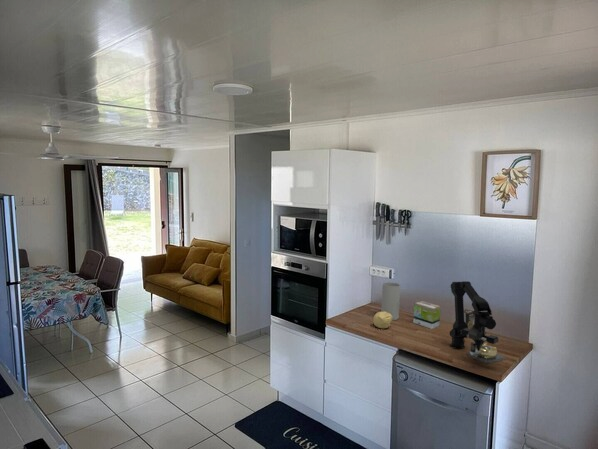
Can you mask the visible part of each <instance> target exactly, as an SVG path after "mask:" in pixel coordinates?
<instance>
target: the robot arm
mask: <svg viewBox="0 0 598 449" xmlns="http://www.w3.org/2000/svg"><path fill="white" fill-rule="evenodd" d="M450 288H451V289H450V290H451V291H450V292H451V293H452V295H453V296H454V312H455V318H454V319H455V321H454V322H453V324H452V328H451V330H450V331H449V336H450V337H451V343H450V344H449V346H451V347H453V348H455V349H457V350H459V349H464V348H466V346H465V339H467V338H469V339H471V340H473V341H474V342H473V343H475V344H476V347H477V350H478V351H479V350H480V348H481V347H482V345H484V343H487V344H488V343H489V344H492V345H495V344H496V343H499V337H498V336H497V335H493V334H490V335H487V331H486V329H488V330H493V329H495V327H496V325H497V323H496V320H495V319H494V316H492V315H493V314H492V313H493V312H492V309H491V306H490V304H489V302H488V301H487V300H486V299H485V298H484V297H481V296H480V295H479V294H478V293H477V290H476V289H475V288H474V286H472V283H471V281H466V280H465V281H464V280H463V281H452V283H451V284H450ZM465 294H466V295H467V296H468V298H469V299H470V301H471V308H472V309H473V310H472V311H473V313H475V316H474V325H473V327H472V329H468V324H466V323H465V321H464V310H465V308H464V306H465V304H464V297H465ZM467 335H468V336H469V337H467Z"/></svg>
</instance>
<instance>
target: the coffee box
mask: <svg viewBox="0 0 598 449" xmlns="http://www.w3.org/2000/svg"><path fill="white" fill-rule="evenodd" d="M473 311H474V310H471V309H467V308H464V321H465V323H466V324H468V329H472V327H473V325H474V316H475V313H473ZM467 338H469V336H468V335H467Z"/></svg>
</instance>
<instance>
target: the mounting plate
mask: <svg viewBox="0 0 598 449" xmlns="http://www.w3.org/2000/svg"><path fill="white" fill-rule="evenodd" d="M466 355H467V356H469V357H470V358H473V359H475V360H477V361H479V362H481V363H483V364H484V365H488V364H492V363H496V362H497V363H498V362H500V361H503V360H504V361H505V357H506V356H503V355H501V354H499V353H497V355H496V358H484V357H480V356H478V355H471V354H470V351H467V353H466Z"/></svg>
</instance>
